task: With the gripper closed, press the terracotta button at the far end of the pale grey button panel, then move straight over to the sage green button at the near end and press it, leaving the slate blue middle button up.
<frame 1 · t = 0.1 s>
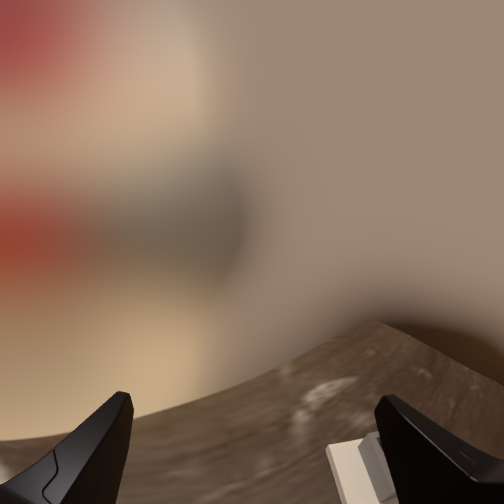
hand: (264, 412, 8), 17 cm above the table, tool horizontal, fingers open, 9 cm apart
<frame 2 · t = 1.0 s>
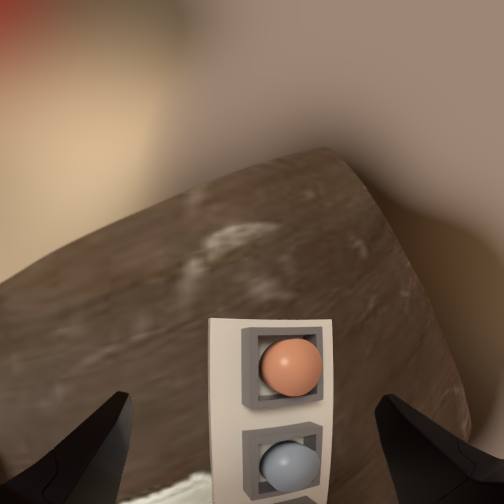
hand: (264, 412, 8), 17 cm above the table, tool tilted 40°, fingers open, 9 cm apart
terracotta button: (290, 367, 22), point 4 cm above the table, slide at 0.0 cm
slate blue button: (289, 466, 19), point 4 cm above the table, slide at 0.0 cm
button panel: (273, 454, 22), on the table
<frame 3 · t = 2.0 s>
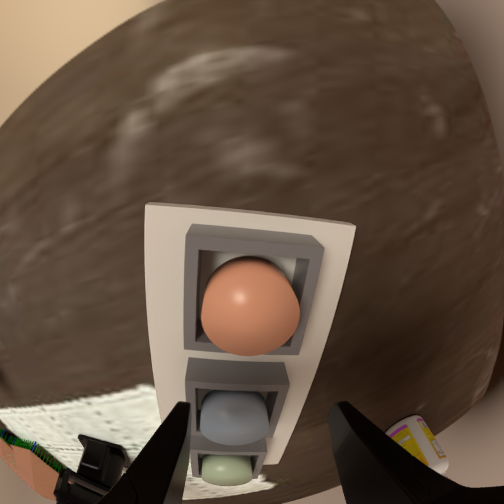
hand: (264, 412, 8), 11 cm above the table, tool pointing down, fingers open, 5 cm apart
terracotta button: (249, 306, 15), point 4 cm above the table, slide at 0.0 cm
sage button: (226, 469, 21), point 4 cm above the table, slide at 0.0 cm
supplement bottle: (400, 427, 28), on the table
slate blue button: (234, 417, 18), point 4 cm above the table, slide at 0.0 cm
button panel: (232, 383, 22), on the table
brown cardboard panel: (52, 469, 31), on the table
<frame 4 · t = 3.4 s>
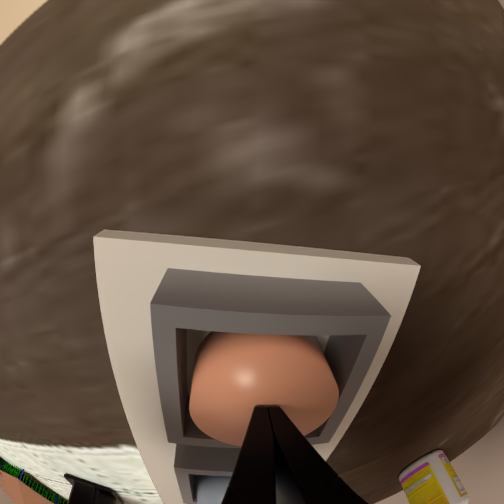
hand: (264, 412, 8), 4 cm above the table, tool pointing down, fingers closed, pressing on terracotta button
terracotta button: (261, 387, 9), point 3 cm above the table, slide at 0.9 cm, touching gripper
supplement bottle: (419, 462, 22), on the table
slate blue button: (239, 496, 11), point 4 cm above the table, slide at 0.0 cm
button panel: (236, 450, 15), on the table
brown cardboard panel: (43, 491, 25), on the table
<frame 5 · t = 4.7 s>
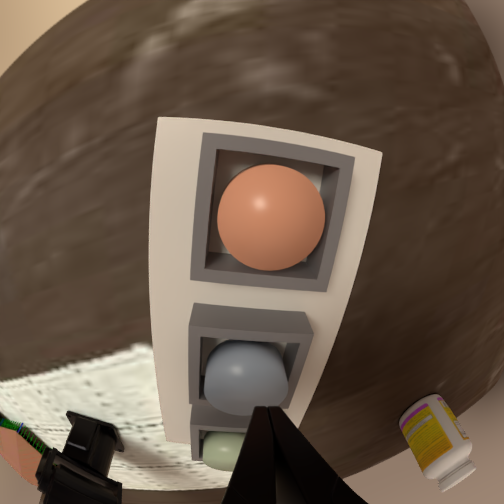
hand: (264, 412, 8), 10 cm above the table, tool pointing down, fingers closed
terracotta button: (269, 214, 14), point 3 cm above the table, slide at 1.1 cm
sage button: (232, 450, 19), point 4 cm above the table, slide at 0.0 cm
supplement bottle: (418, 408, 26), on the table
slate blue button: (245, 378, 16), point 4 cm above the table, slide at 0.0 cm
button panel: (243, 342, 20), on the table
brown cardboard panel: (40, 454, 30), on the table
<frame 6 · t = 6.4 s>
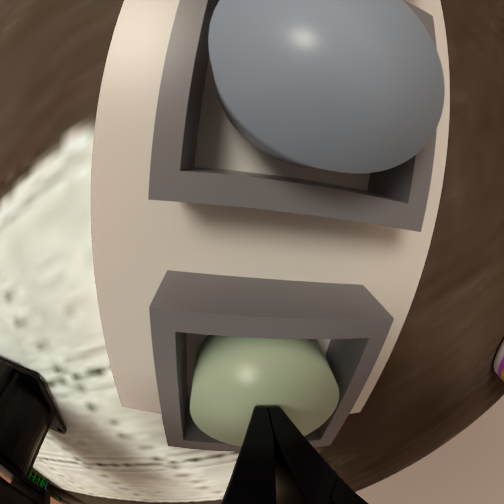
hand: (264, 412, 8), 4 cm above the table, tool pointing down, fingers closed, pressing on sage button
sage button: (262, 387, 9), point 3 cm above the table, slide at 1.1 cm, touching gripper
slate blue button: (326, 64, 5), point 4 cm above the table, slide at 0.0 cm
button panel: (291, 96, 8), on the table
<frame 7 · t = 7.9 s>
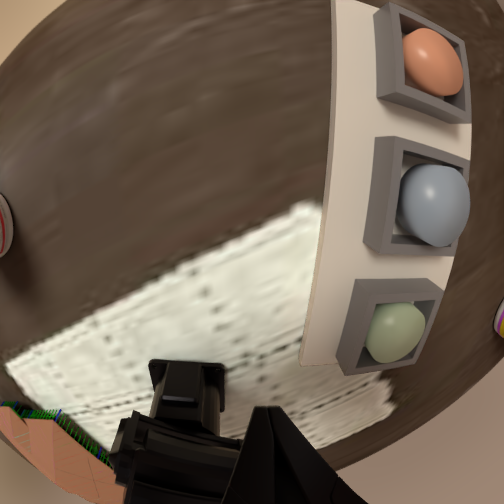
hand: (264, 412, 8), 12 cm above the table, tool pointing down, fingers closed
terracotta button: (429, 63, 12), point 3 cm above the table, slide at 1.1 cm
sage button: (392, 329, 19), point 3 cm above the table, slide at 1.2 cm
slate blue button: (434, 203, 15), point 4 cm above the table, slide at 0.0 cm
button panel: (403, 193, 18), on the table
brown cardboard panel: (77, 455, 29), on the table
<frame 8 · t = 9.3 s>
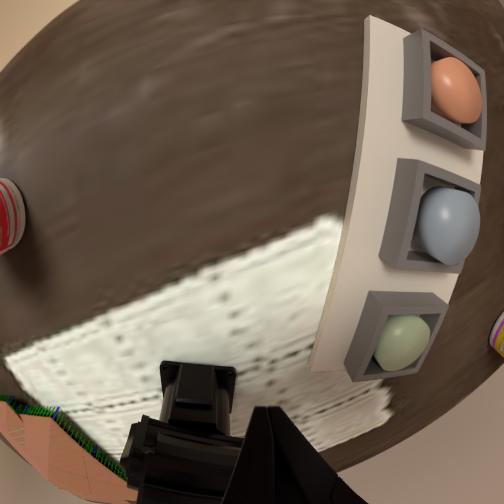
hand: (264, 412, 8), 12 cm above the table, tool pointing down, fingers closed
terracotta button: (451, 91, 13), point 3 cm above the table, slide at 1.1 cm
sage button: (399, 339, 20), point 3 cm above the table, slide at 1.2 cm
supplement bottle: (500, 323, 26), on the table
slate blue button: (447, 224, 15), point 4 cm above the table, slide at 0.0 cm
pill bottle: (7, 212, 16), on the table
button panel: (417, 212, 19), on the table
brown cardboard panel: (70, 451, 29), on the table
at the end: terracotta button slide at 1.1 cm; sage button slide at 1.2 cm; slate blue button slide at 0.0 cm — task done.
